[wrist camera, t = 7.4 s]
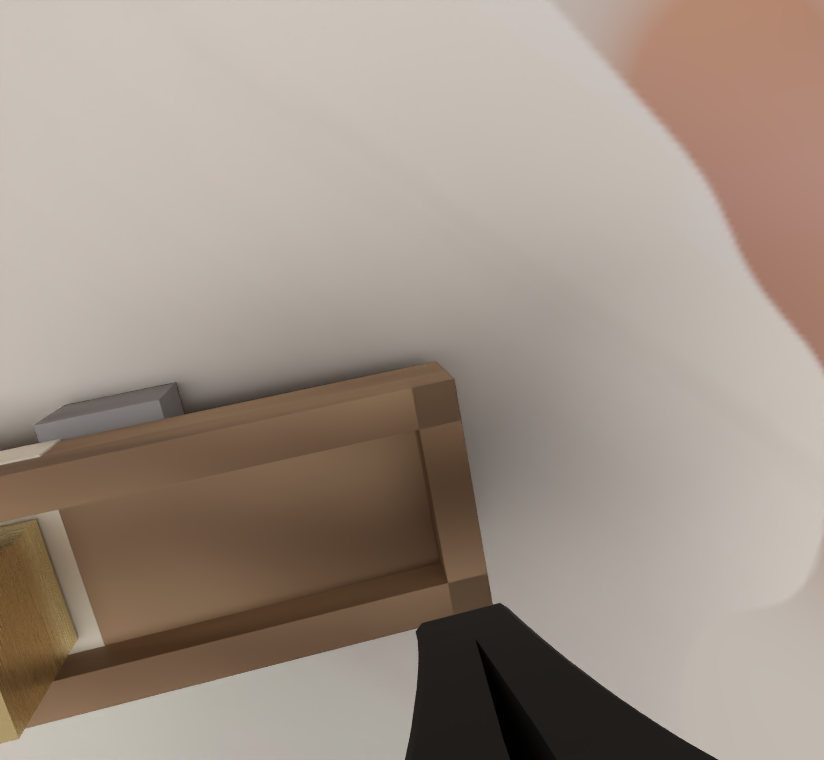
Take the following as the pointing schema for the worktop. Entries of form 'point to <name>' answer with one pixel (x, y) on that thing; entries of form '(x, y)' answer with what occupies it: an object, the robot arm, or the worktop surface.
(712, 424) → the worktop surface
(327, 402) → the beam
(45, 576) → the tan wooden block
